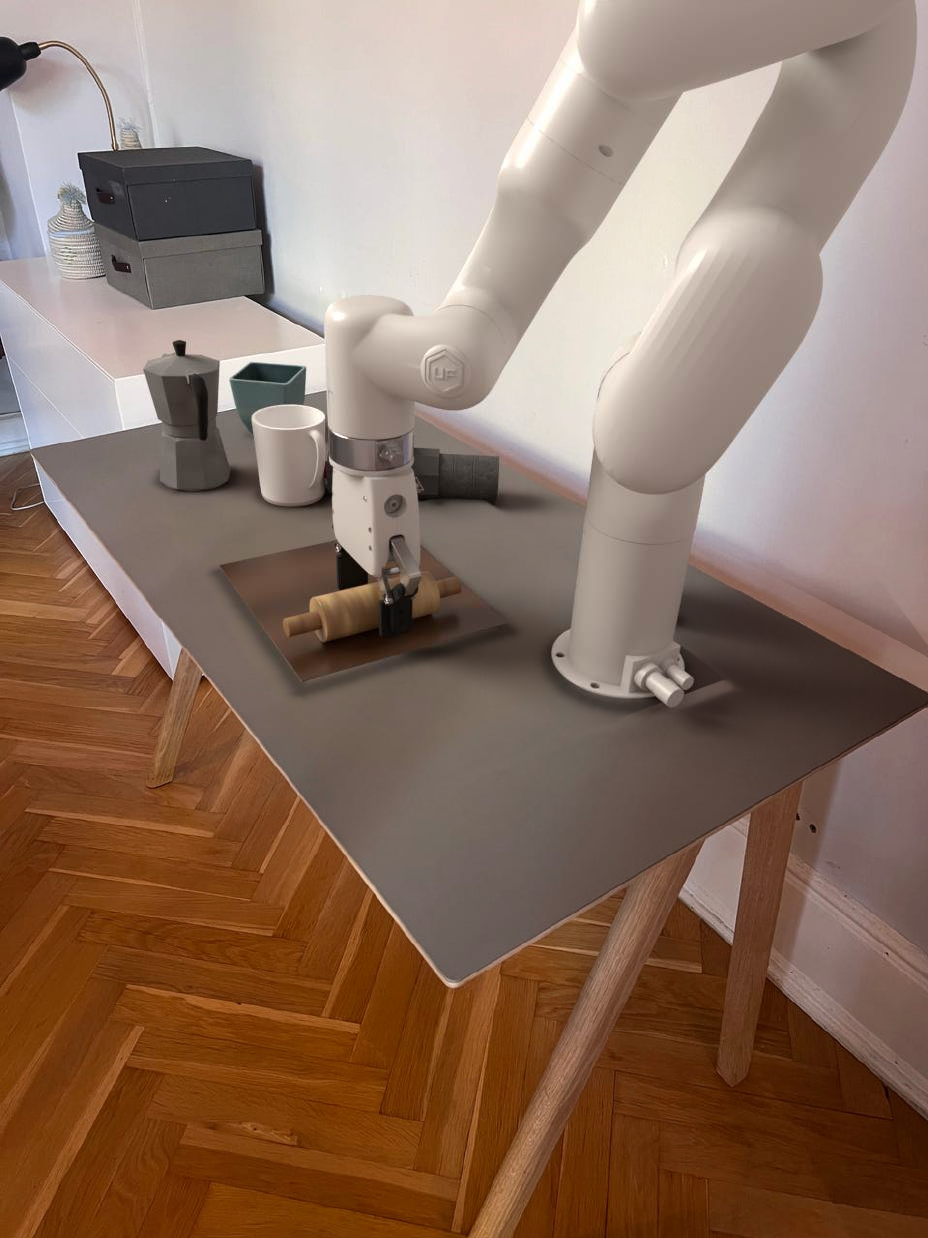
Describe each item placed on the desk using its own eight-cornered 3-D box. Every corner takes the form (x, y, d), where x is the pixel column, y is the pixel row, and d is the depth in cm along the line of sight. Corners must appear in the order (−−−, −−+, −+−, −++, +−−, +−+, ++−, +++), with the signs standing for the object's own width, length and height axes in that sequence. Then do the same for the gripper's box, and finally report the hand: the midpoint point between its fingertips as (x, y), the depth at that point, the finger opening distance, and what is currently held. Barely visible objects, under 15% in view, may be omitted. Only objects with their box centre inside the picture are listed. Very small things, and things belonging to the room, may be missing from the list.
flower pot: (233, 439, 132) (227, 378, 128) (255, 418, 140) (250, 360, 135) (291, 445, 131) (287, 383, 127) (310, 424, 139) (307, 365, 134)
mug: (243, 492, 117) (236, 415, 112) (299, 474, 123) (294, 399, 117) (297, 520, 111) (292, 440, 105) (353, 499, 117) (351, 422, 111)
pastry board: (507, 631, 92) (508, 622, 91) (301, 690, 82) (301, 681, 81) (399, 533, 109) (400, 526, 109) (219, 572, 99) (218, 564, 99)
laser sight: (496, 516, 114) (501, 440, 109) (317, 508, 114) (313, 431, 109) (496, 484, 122) (500, 413, 117) (329, 477, 122) (326, 404, 117)
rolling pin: (462, 614, 94) (472, 587, 90) (292, 660, 85) (296, 632, 82) (443, 582, 96) (452, 554, 92) (276, 624, 87) (279, 595, 84)
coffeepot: (147, 465, 123) (127, 330, 113) (216, 454, 127) (202, 323, 118) (177, 510, 112) (157, 364, 102) (251, 497, 116) (239, 356, 106)
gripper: (456, 473, 76) (449, 644, 85) (368, 408, 88) (370, 563, 97) (375, 489, 72) (377, 665, 82) (295, 419, 85) (304, 579, 94)
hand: (373, 609), depth 89 cm, fingers open, 9 cm apart
